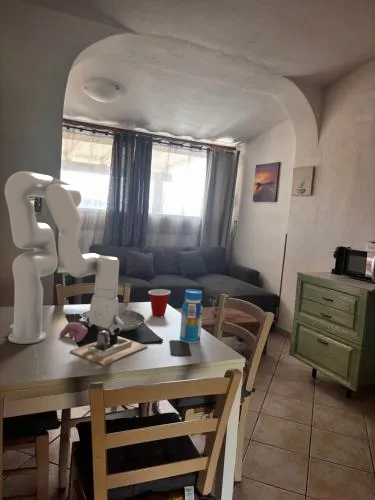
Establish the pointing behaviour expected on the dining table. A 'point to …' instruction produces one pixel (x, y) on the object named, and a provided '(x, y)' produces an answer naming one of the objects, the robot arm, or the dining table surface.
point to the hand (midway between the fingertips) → (102, 341)
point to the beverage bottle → (191, 317)
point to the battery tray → (109, 351)
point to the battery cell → (103, 340)
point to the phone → (179, 348)
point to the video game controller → (71, 330)
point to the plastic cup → (159, 301)
